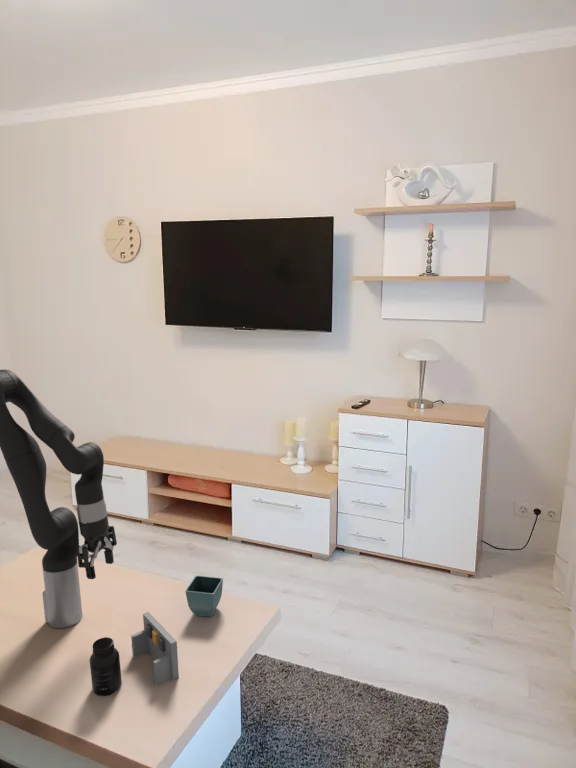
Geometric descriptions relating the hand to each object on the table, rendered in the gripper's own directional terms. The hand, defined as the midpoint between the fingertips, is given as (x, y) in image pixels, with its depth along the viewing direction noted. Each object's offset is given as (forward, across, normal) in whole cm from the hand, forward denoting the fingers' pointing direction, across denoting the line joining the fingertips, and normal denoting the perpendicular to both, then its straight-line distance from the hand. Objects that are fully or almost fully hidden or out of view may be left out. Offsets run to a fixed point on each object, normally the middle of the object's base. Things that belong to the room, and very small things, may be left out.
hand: (100, 570), depth 158 cm
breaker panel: (+19, +11, +20) cm, 30 cm away
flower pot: (+19, -14, +23) cm, 33 cm away
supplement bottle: (+18, +21, +13) cm, 31 cm away
